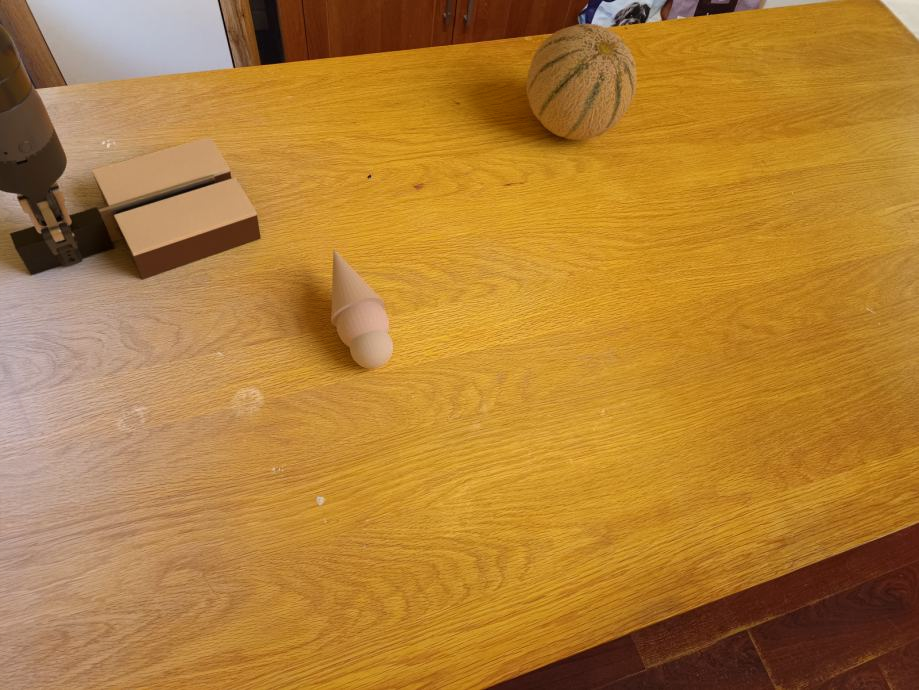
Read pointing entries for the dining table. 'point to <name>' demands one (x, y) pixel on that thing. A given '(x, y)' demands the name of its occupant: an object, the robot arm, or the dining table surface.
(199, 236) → the slotted tan block
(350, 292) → the ice cream cone
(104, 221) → the knife
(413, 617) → the dining table surface
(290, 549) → the dining table surface
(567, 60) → the cantaloupe
